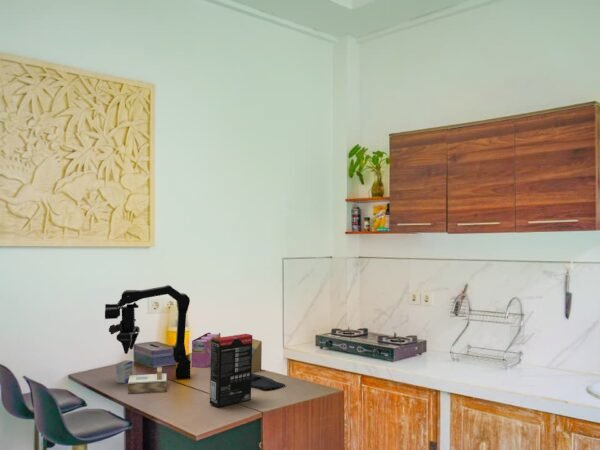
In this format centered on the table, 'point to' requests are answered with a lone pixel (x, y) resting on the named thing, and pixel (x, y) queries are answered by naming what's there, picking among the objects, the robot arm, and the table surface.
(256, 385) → the dark slate chunk
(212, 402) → the graphics card box
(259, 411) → the table surface
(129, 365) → the medicine box
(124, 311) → the robot arm
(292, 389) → the table surface
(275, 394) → the table surface
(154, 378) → the lid
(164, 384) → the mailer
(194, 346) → the gum box
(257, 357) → the sandwich container
